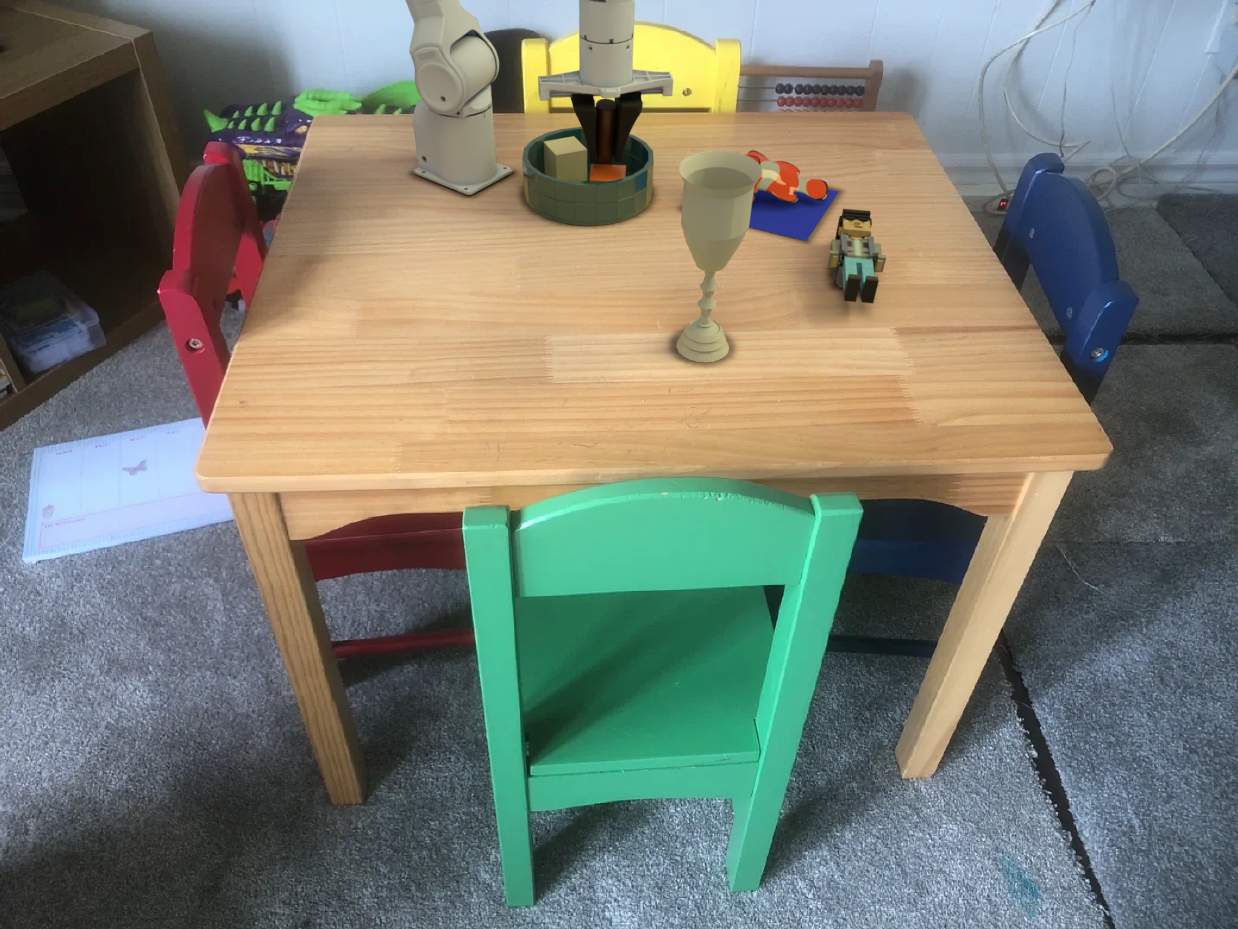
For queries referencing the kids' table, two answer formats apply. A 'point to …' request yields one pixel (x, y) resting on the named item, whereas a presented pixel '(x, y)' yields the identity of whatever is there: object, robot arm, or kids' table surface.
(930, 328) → the kids' table surface
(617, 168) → the terracotta block
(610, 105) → the dark brown cylinder
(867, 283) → the toy
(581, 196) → the bowl
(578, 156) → the cream block
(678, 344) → the chalice
